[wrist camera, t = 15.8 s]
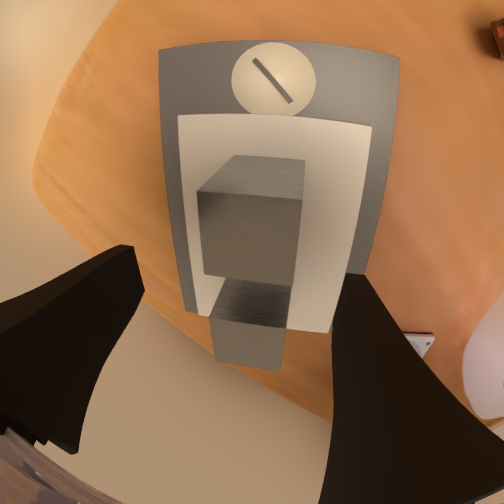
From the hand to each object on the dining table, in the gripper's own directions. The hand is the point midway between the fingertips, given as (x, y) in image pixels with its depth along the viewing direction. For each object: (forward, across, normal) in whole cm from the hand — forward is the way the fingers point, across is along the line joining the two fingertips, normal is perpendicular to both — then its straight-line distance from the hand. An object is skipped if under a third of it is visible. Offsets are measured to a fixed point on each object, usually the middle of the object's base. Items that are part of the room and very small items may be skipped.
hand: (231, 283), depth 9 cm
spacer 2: (+9, 0, +7) cm, 11 cm away
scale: (+10, 0, +2) cm, 11 cm away
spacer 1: (+9, 0, 0) cm, 9 cm away
